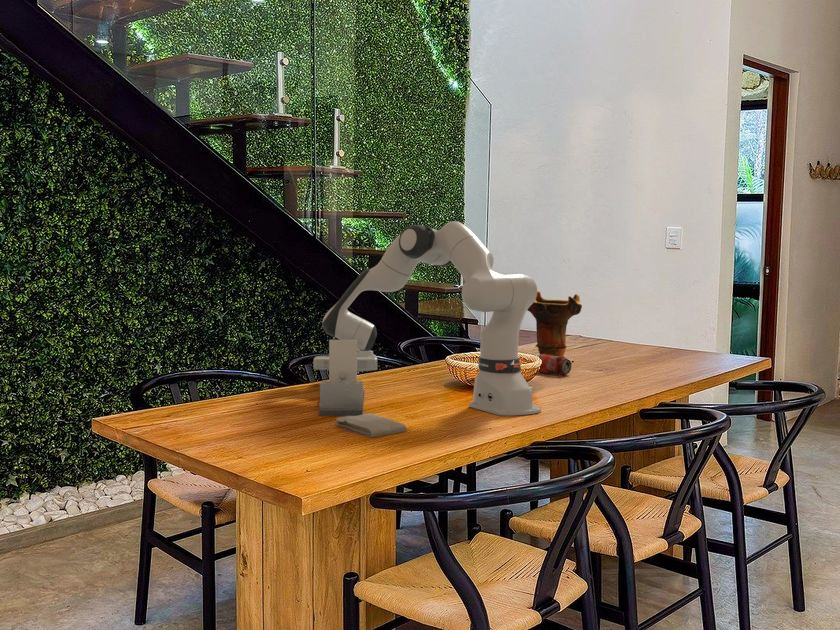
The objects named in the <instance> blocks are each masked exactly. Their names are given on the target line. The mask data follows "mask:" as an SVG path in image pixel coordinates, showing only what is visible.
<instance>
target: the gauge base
mask: <svg viewBox="0 0 840 630" xmlns="http://www.w3.org/2000/svg"><path fill="white" fill-rule="evenodd" d="M364 402H365V390H364V381H362V380H357V381H329V380H321V381H320V382H319V403H318V404H319V405H318V406H319V411H318V414H319V417H326V416H327V417H338V416H339V417H345V416H358V415H362V414H364Z"/></svg>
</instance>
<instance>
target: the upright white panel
mask: <svg viewBox="0 0 840 630" xmlns="http://www.w3.org/2000/svg"><path fill="white" fill-rule="evenodd" d="M328 346H329V347H328V351H329V353H328V356H329V370H328V371H329V374H328V375H329V376H328V378H329V379H328V381H358V372H357V340H340V339H329V341H328Z"/></svg>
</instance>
